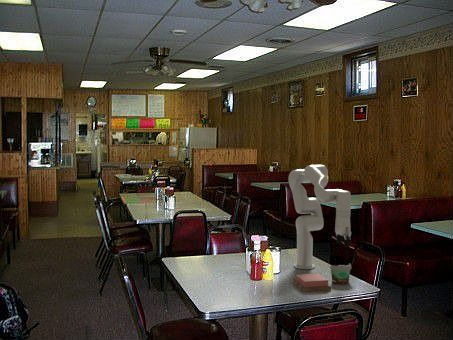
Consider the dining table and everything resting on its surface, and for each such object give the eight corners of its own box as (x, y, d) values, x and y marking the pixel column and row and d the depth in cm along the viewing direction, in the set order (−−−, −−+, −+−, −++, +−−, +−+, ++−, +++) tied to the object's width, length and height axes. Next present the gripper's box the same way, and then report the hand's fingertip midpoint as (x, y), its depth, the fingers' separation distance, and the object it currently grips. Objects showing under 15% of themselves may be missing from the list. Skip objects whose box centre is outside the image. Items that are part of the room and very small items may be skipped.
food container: (334, 285, 261) (335, 267, 260) (329, 282, 266) (329, 264, 266) (355, 284, 264) (355, 266, 263) (349, 280, 270) (350, 263, 269)
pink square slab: (295, 280, 263) (295, 274, 263) (318, 278, 266) (318, 273, 266) (304, 287, 250) (304, 281, 250) (328, 285, 253) (328, 280, 253)
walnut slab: (293, 285, 264) (293, 279, 264) (319, 283, 267) (319, 278, 267) (303, 293, 249) (303, 287, 249) (330, 291, 253) (330, 286, 252)
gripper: (330, 211, 271) (330, 242, 271) (343, 216, 254) (343, 248, 254) (342, 211, 272) (342, 241, 273) (357, 215, 255) (356, 248, 256)
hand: (343, 245), depth 264 cm, fingers open, 9 cm apart
